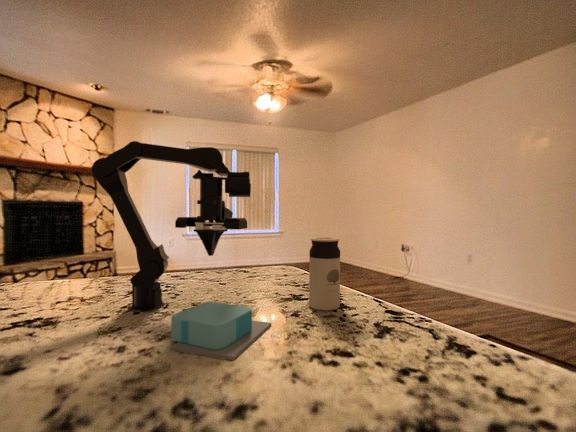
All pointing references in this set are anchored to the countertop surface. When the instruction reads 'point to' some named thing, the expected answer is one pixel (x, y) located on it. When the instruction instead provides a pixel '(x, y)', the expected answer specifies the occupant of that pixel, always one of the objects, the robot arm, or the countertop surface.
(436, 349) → the countertop surface
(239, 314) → the data package
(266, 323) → the mat
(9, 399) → the countertop surface
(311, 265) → the travel mug
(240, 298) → the countertop surface
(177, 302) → the countertop surface
